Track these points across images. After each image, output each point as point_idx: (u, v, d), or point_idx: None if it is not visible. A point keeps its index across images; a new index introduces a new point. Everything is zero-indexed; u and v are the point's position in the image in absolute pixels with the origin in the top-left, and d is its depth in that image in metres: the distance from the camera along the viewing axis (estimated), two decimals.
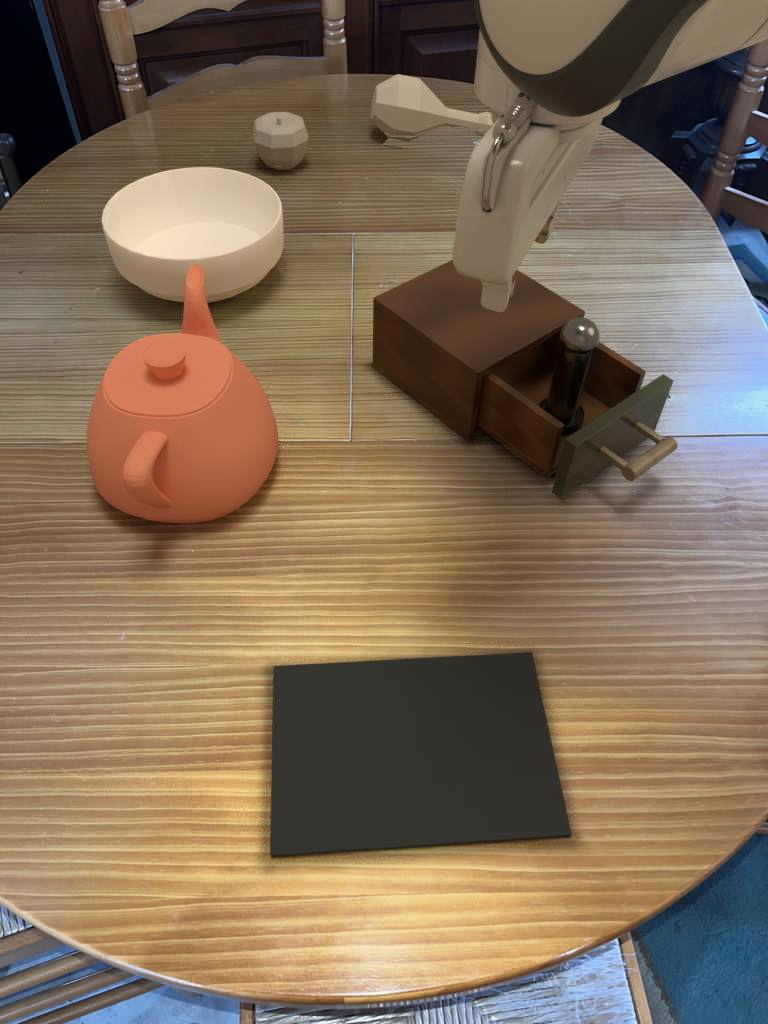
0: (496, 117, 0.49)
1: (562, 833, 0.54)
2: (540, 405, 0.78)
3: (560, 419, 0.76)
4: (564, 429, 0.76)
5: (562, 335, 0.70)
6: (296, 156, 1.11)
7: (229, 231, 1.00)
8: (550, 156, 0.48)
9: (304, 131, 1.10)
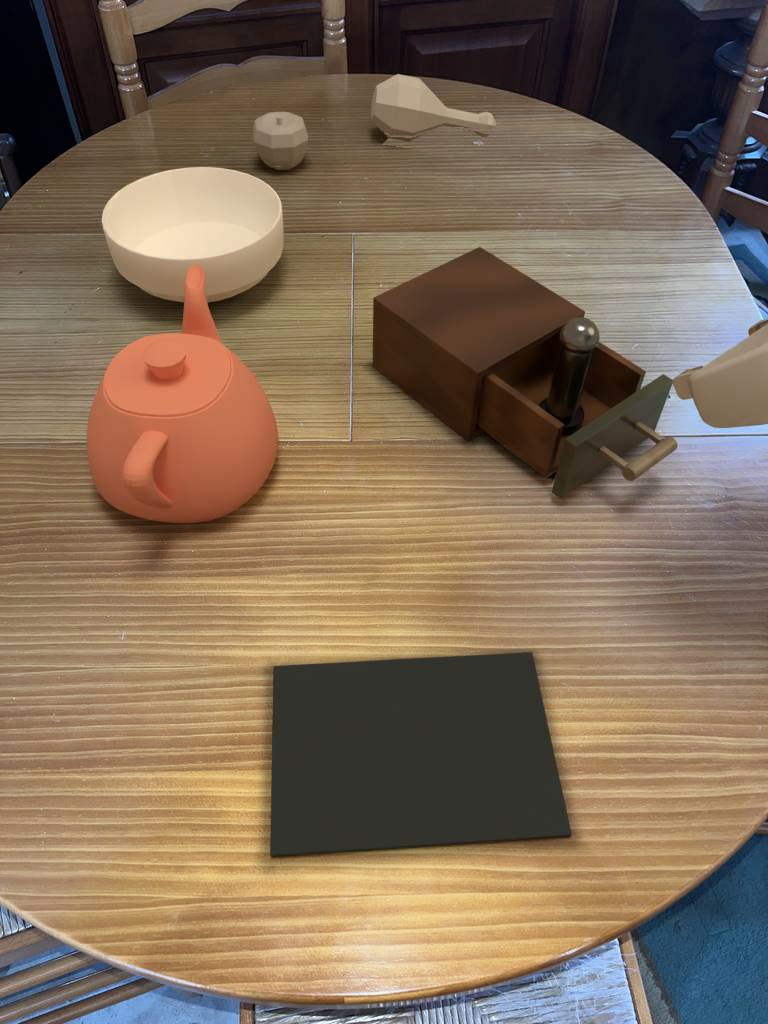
0: None
1: (562, 833, 0.54)
2: (540, 405, 0.78)
3: (560, 419, 0.76)
4: (564, 429, 0.76)
5: (562, 335, 0.70)
6: (296, 155, 1.11)
7: (229, 231, 1.00)
8: None
9: (304, 131, 1.10)
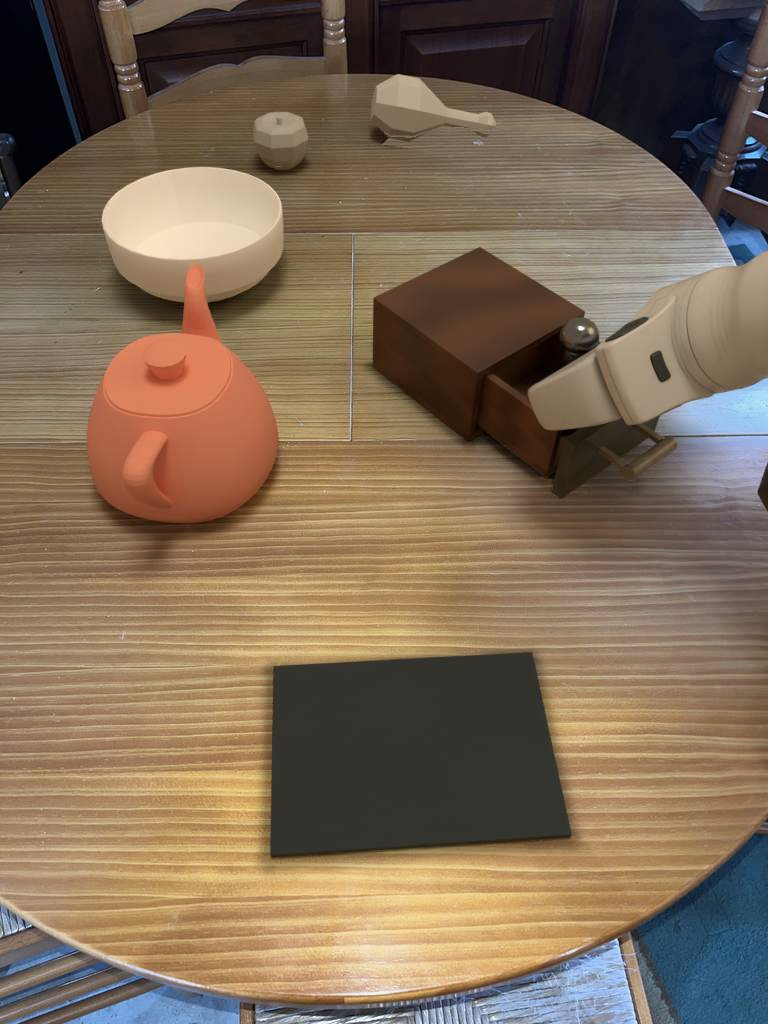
0: None
1: (562, 833, 0.54)
2: None
3: None
4: None
5: (562, 335, 0.70)
6: (296, 155, 1.11)
7: (229, 231, 1.00)
8: None
9: (304, 131, 1.10)
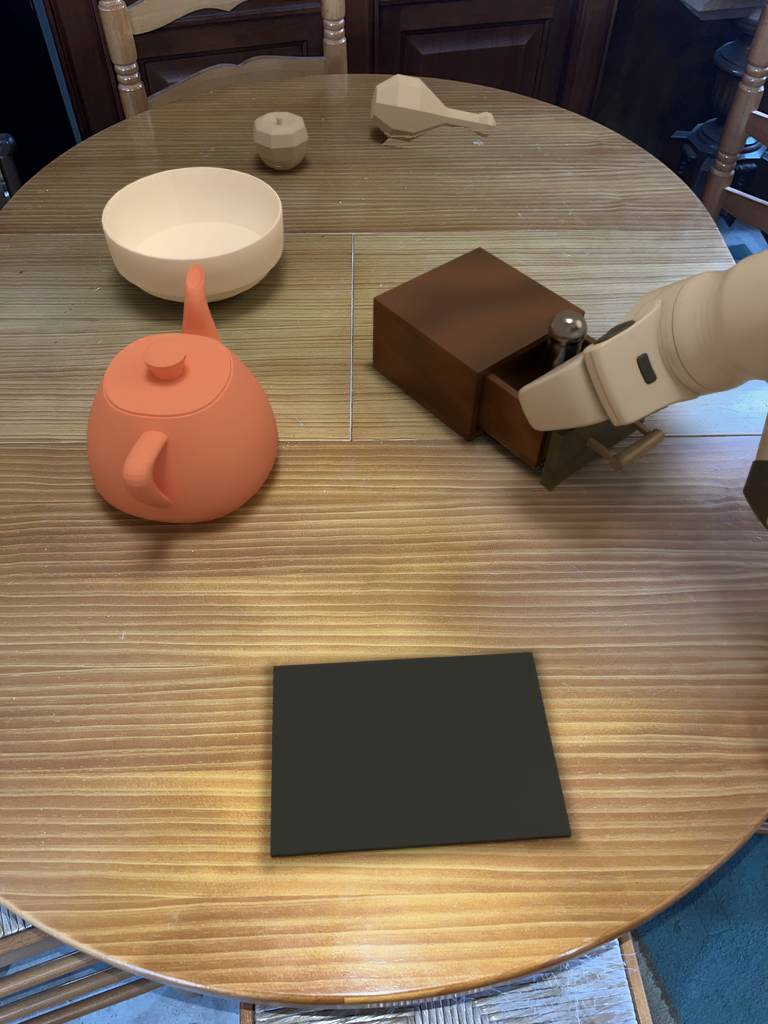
0: None
1: (562, 833, 0.54)
2: None
3: None
4: None
5: (550, 327, 0.71)
6: (296, 156, 1.11)
7: (229, 231, 1.00)
8: None
9: (304, 131, 1.10)
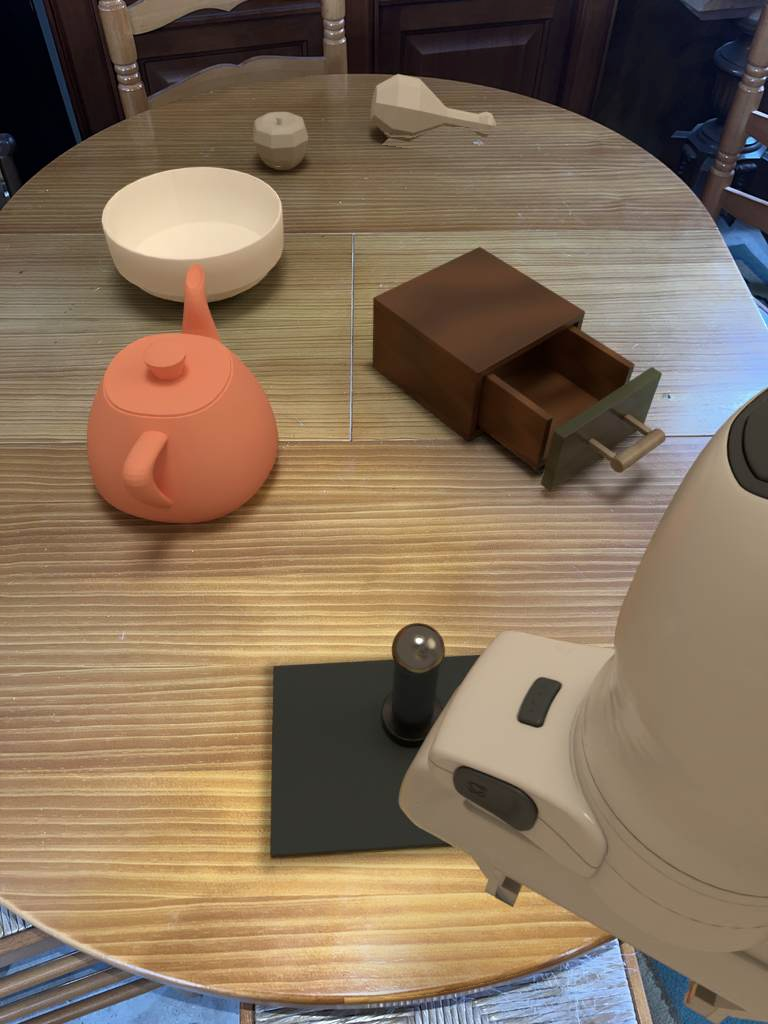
0: None
1: None
2: (386, 702, 0.59)
3: (408, 729, 0.57)
4: (413, 742, 0.57)
5: (393, 650, 0.51)
6: (296, 156, 1.11)
7: (229, 231, 1.00)
8: None
9: (304, 131, 1.10)
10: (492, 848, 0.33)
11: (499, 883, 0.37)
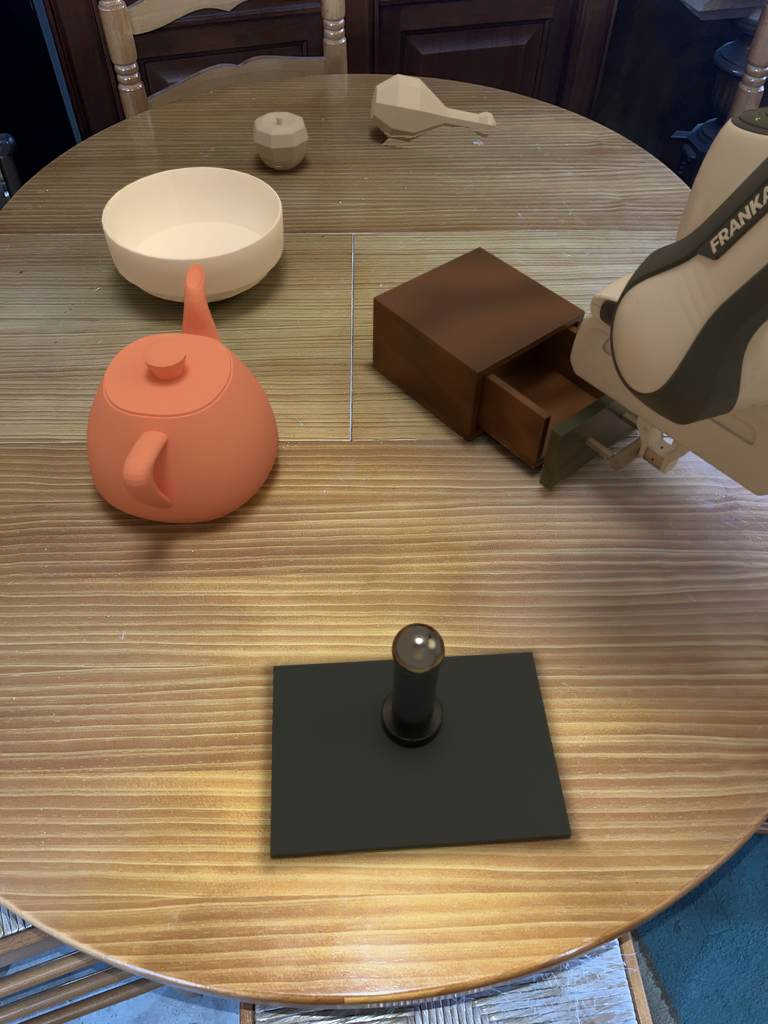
0: None
1: (562, 833, 0.54)
2: (386, 702, 0.59)
3: (408, 729, 0.57)
4: (413, 742, 0.57)
5: (393, 650, 0.51)
6: (296, 155, 1.11)
7: (229, 231, 1.00)
8: None
9: (304, 131, 1.10)
10: (610, 377, 0.68)
11: (647, 444, 0.70)
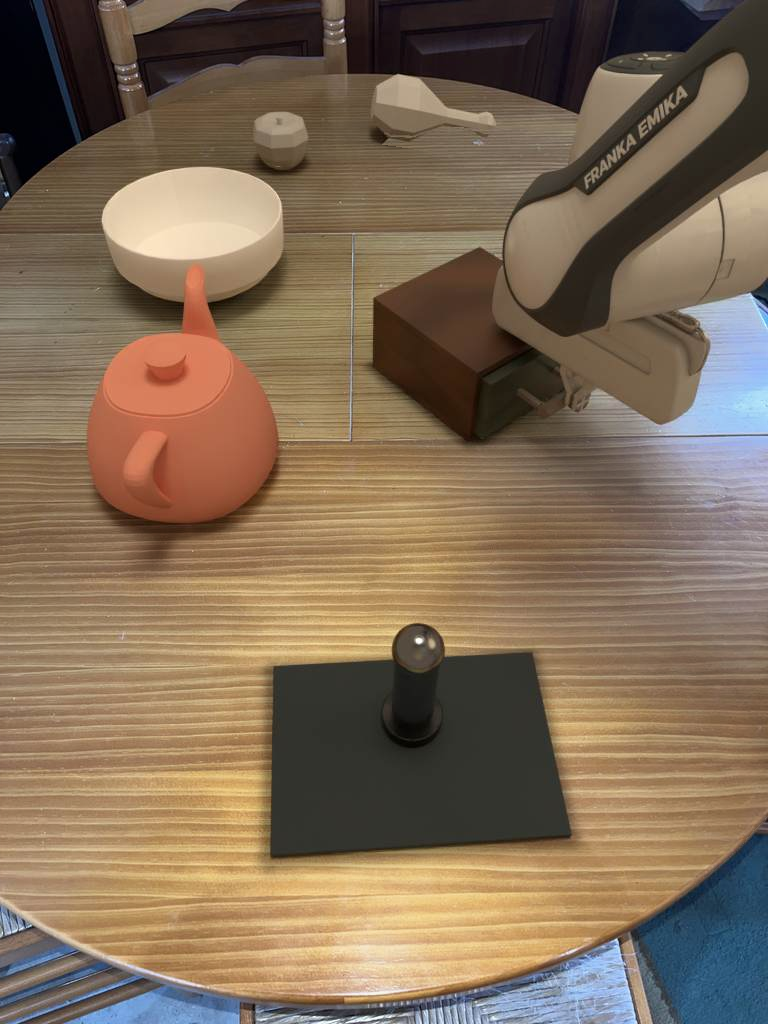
0: None
1: (562, 833, 0.54)
2: (386, 702, 0.59)
3: (408, 729, 0.57)
4: (413, 742, 0.57)
5: (393, 650, 0.51)
6: (296, 155, 1.11)
7: (229, 231, 1.00)
8: None
9: (304, 131, 1.10)
10: (527, 324, 0.73)
11: (571, 392, 0.74)
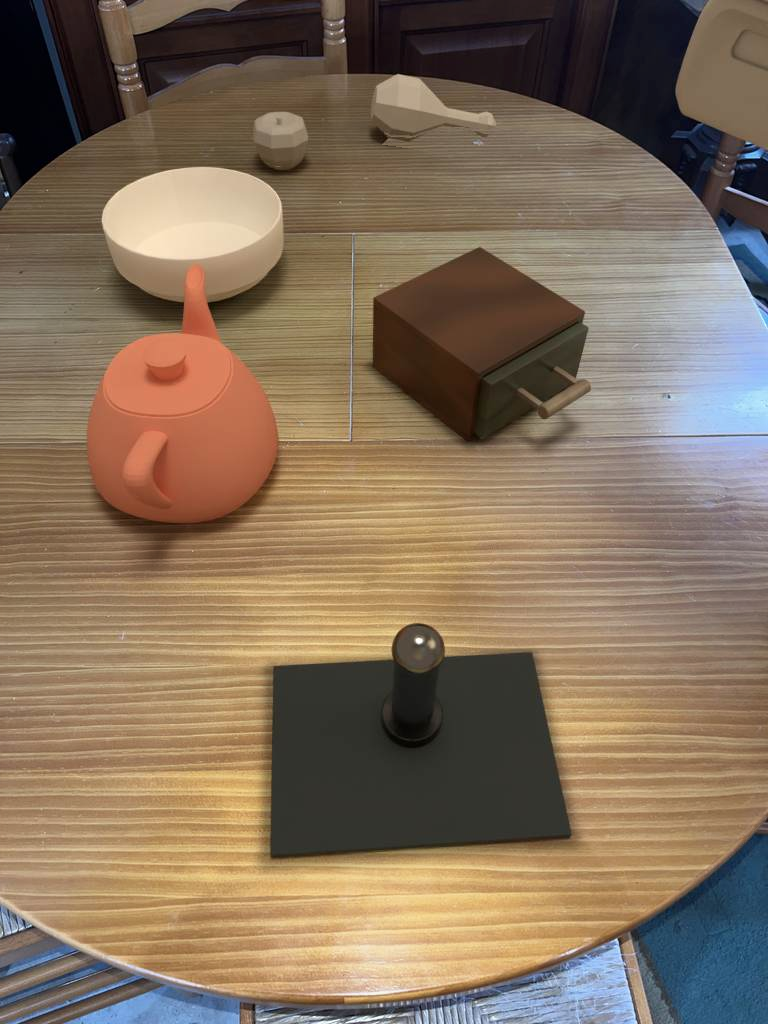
0: None
1: (562, 833, 0.54)
2: (386, 702, 0.59)
3: (408, 729, 0.57)
4: (413, 742, 0.57)
5: (393, 650, 0.51)
6: (296, 155, 1.11)
7: (229, 231, 1.00)
8: None
9: (304, 131, 1.10)
10: (741, 100, 0.46)
11: None
